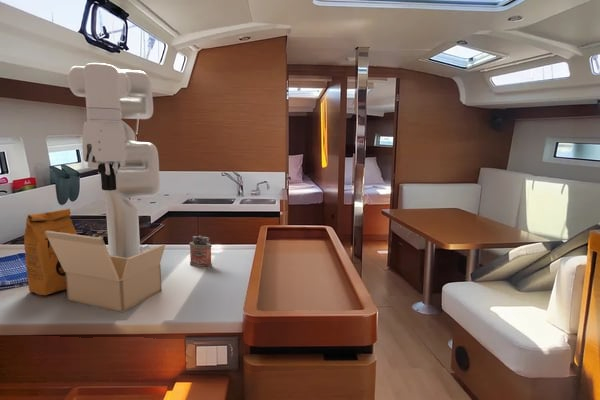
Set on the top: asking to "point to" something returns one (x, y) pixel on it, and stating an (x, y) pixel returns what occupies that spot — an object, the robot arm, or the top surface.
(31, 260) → the coffee package
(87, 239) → the lid flap
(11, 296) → the top surface
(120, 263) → the carton
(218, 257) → the top surface
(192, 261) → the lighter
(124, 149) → the robot arm
